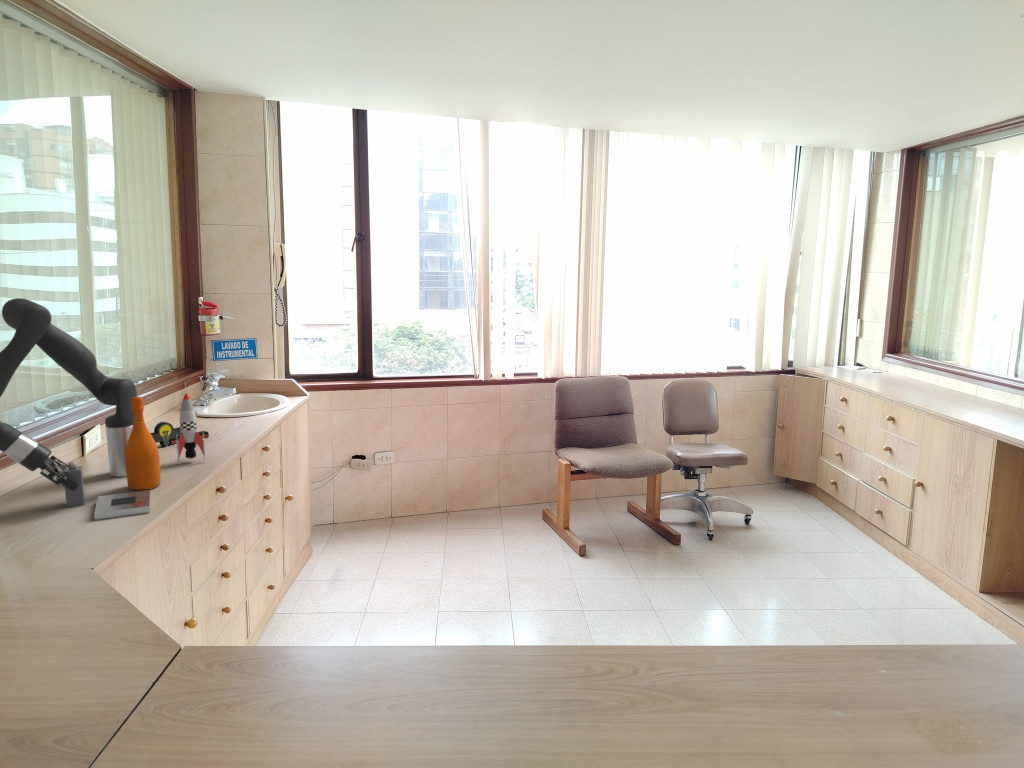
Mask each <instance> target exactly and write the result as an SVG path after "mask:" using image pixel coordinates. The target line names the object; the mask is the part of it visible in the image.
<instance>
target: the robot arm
mask: <svg viewBox="0 0 1024 768" xmlns="http://www.w3.org/2000/svg"><path fill="white" fill-rule="evenodd" d="M1 309H2V310H1V315H2V316H1V317H2V319H3V321H4V322H5V324H6V325H7V326H8V327H10V328H11V329H14V330H15V332H14V334H13V337H12V338H11V340H10V341H9V342H8V344H7V345H6V346H4V348H3V349H2V350H1V351H0V398H1V397H2V396H3V394H4V392H5V391H6V389H7V386H8V385H9V383H10V382H11V379H12V378H13V376H15V375H14V374H15V373H16V371H17V370H18V368H19V367H20V365H21V364H22V363H23V361H24V360H25V359H26V358H27V356H28V355H29V353H30V352H31V351H32V349H34V347H35V346H37V347H39V348H40V349H41V350H42V352H44V353H45V354H46V355H47V357H49V358H50V359H51V360H52V361H53V362H54V363H56V364H57V365H58V366H59V367H61V368H62V369H63V370H64V371H66V372H67V373H68V374H70V375H71V376H72V377H74V379H75V380H77V381H78V383H79V382H80V383H81V384H82V385H83V386H84V387H85V388H86V389H87V390H88V391H89V392H90V393H91V394H92V395H93V397H94V398H96V400H98V401H99V402H100V403H101V404H103V405H106V406H115V413H114V414H112V415H109V416H106V417H105V420H104V424H105V434H106V444H107V445H106V446H107V456H108V457H107V458H108V464H109V475H110V476H111V477H115V478H118V477H119V478H121V477H127V475H126V466H125V449H126V445H127V442H128V439H129V437H130V434H131V432H132V429H133V423H134V412H133V411H132V402H131V399H132V398H133V397H138V393H137V387H136V384H135V382H134V381H132V380H131V379H128V378H112V377H110V376H106V375H105V374H104V373H102V371H100V370H99V369H98V368H97V367H98V364H97V360H96V356H95V355H94V354H93V352H92V351H91V350H90V349H89V348H88V347H86V345H85V344H83V343H82V342H81V341H80V340H78V339H77V338H75V336H72V335H70V334H69V333H67V332H66V331H64V330H62V329H61V328H58V327H57V326H55V325H54V324H52V314H51V311H50V310H49V309H48V308H47V307H46V306H44V305H41V304H39V303H37V302H35V301H32V300H29V299H26V298H18V297H16V298H12V299H9V300H7V301H6V302H5V303H4V305H3V306H2V308H1ZM0 452H2V453H3V454H4V455H6V456H7V457H8V458H10V459H11V460H13V461H14V462H16V463H18V464H19V465H21V466H22V467H24V468H26V469H27V470H29V471H30V472H35V471H36V470H37V469H40V470H41V471H40V472H39V474H40V475H41V476H42V477H44V478H46V479H48V480H49V481H51V482H52V483H53V484H54V485H57V486H60V485H63V486H64V488H65V487H67V488H68V489H70V490H72V491H75V490H76V489H77V487H78V484H77V483H75V482H73V481H72V480H70V479H69V478H67V477H66V476H65V475H64V469H65V468H69V464H68V463H65V462H64V461H63V460H61V459H60V458H58V457H56V456H55V455H52V450H51V449H50V448H48V447H46V446H44V445H43V444H42V443H40V442H39V441H37V440H36V439H35V438H33V437H30V436H29V435H27V434H25V433H23V432H21V431H20V430H18V429H17V428H15V427H14V426H13V425H11V424H8V423H7V422H3V421H0ZM50 455H51V456H50Z"/></svg>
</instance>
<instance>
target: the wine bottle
mask: <svg viewBox="0 0 1024 768" xmlns="http://www.w3.org/2000/svg"><path fill="white" fill-rule="evenodd" d="M131 402H132V411H133V412H134V423H133V429H132V432H131V434H130V437H129V439H128V442H127V445H126V449H125V466H126V475H127V476H126V482H127V486H128V488H129V489H130V490H132V491H146V490H152V489H154V488H155V489H156V487H158V486H160V484H161V476H162V475H161V461H160V452H159V449H158V445H157V443H155V441H154V439H153V437H152V436H151V434H150V433H151V432H150V431H149V429H148V427H147V425H146V422H145V419H144V410H145V405H144V398H143V397H142V396H137V397H133V398H132V399H131Z"/></svg>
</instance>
